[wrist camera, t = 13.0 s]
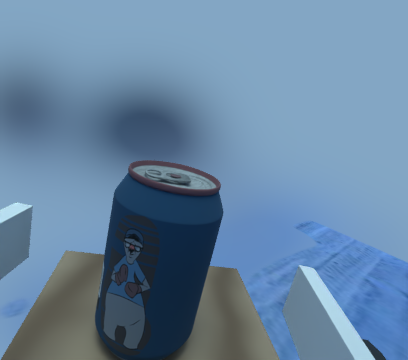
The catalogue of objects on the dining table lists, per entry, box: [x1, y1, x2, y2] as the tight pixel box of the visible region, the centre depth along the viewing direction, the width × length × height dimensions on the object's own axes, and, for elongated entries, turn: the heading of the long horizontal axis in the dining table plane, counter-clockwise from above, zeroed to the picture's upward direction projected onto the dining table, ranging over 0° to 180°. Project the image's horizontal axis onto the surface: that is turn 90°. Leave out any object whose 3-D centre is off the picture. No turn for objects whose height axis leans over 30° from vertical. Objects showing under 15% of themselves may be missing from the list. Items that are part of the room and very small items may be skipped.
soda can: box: [95, 160, 223, 360], centre depth 18 cm, size 7×7×12 cm
